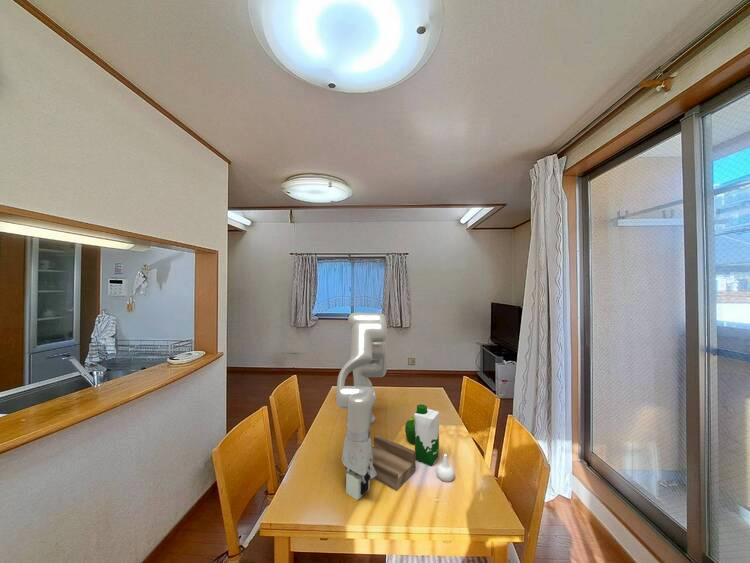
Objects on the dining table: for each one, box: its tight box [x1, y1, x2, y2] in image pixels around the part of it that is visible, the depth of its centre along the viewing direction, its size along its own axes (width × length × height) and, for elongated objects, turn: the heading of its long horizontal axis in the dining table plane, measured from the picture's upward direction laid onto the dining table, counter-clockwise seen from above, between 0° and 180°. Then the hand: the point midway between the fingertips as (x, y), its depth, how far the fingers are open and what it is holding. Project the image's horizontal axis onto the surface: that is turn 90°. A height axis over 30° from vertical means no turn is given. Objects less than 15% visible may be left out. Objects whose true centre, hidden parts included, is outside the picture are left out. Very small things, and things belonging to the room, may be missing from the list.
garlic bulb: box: [435, 453, 455, 482], centre depth 98 cm, size 6×6×8 cm
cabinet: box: [345, 470, 370, 501], centre depth 90 cm, size 5×6×7 cm
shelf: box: [372, 434, 417, 491], centre depth 101 cm, size 13×18×7 cm
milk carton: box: [413, 404, 440, 467], centre depth 108 cm, size 9×9×20 cm
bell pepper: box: [404, 415, 415, 445], centre depth 120 cm, size 8×8×10 cm
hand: (357, 487), depth 90 cm, fingers closed on cabinet, 5 cm apart
